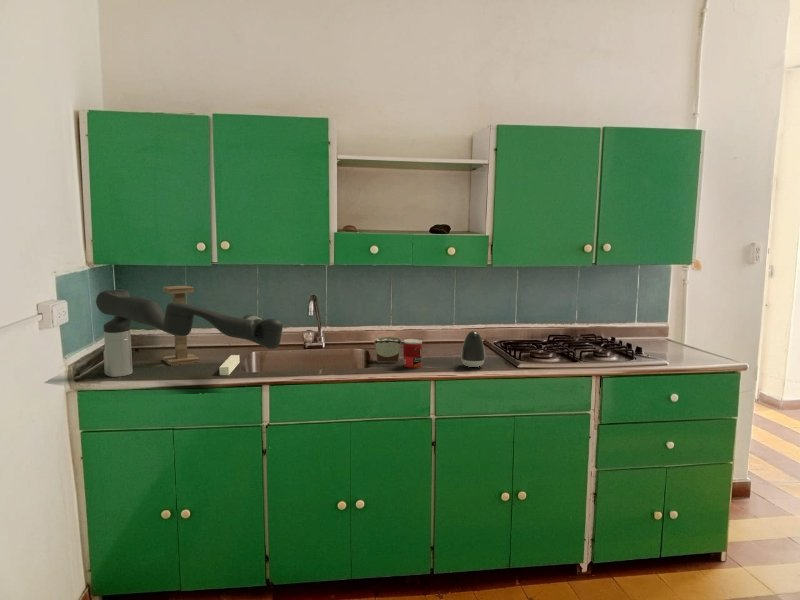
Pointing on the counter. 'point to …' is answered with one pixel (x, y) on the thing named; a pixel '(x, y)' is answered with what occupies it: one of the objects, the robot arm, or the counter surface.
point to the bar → (229, 365)
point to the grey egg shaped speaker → (473, 350)
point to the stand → (180, 341)
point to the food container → (387, 349)
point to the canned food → (412, 353)
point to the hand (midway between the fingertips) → (237, 319)
